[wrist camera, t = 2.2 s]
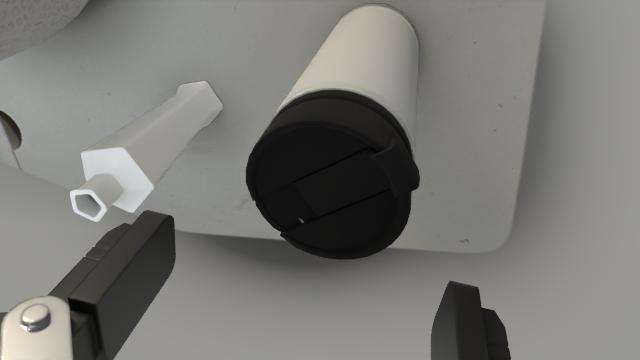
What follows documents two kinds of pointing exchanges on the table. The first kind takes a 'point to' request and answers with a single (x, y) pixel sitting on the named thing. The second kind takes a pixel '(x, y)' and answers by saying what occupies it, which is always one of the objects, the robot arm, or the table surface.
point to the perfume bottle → (142, 152)
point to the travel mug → (344, 141)
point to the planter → (33, 22)
